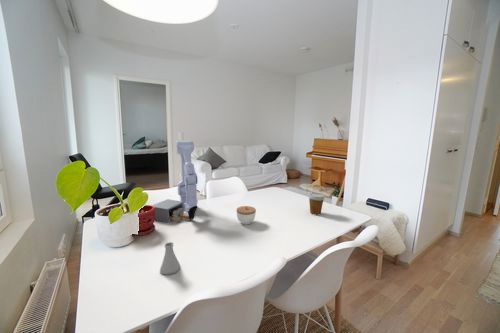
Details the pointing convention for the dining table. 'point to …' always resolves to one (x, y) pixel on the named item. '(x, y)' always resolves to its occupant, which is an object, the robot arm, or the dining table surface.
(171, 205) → the grey slotted box
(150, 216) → the plant pot
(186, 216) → the tan t-shaped block
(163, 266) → the flask
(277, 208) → the dining table surface
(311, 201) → the disposable coffee cup
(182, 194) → the robot arm
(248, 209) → the lidded jar
